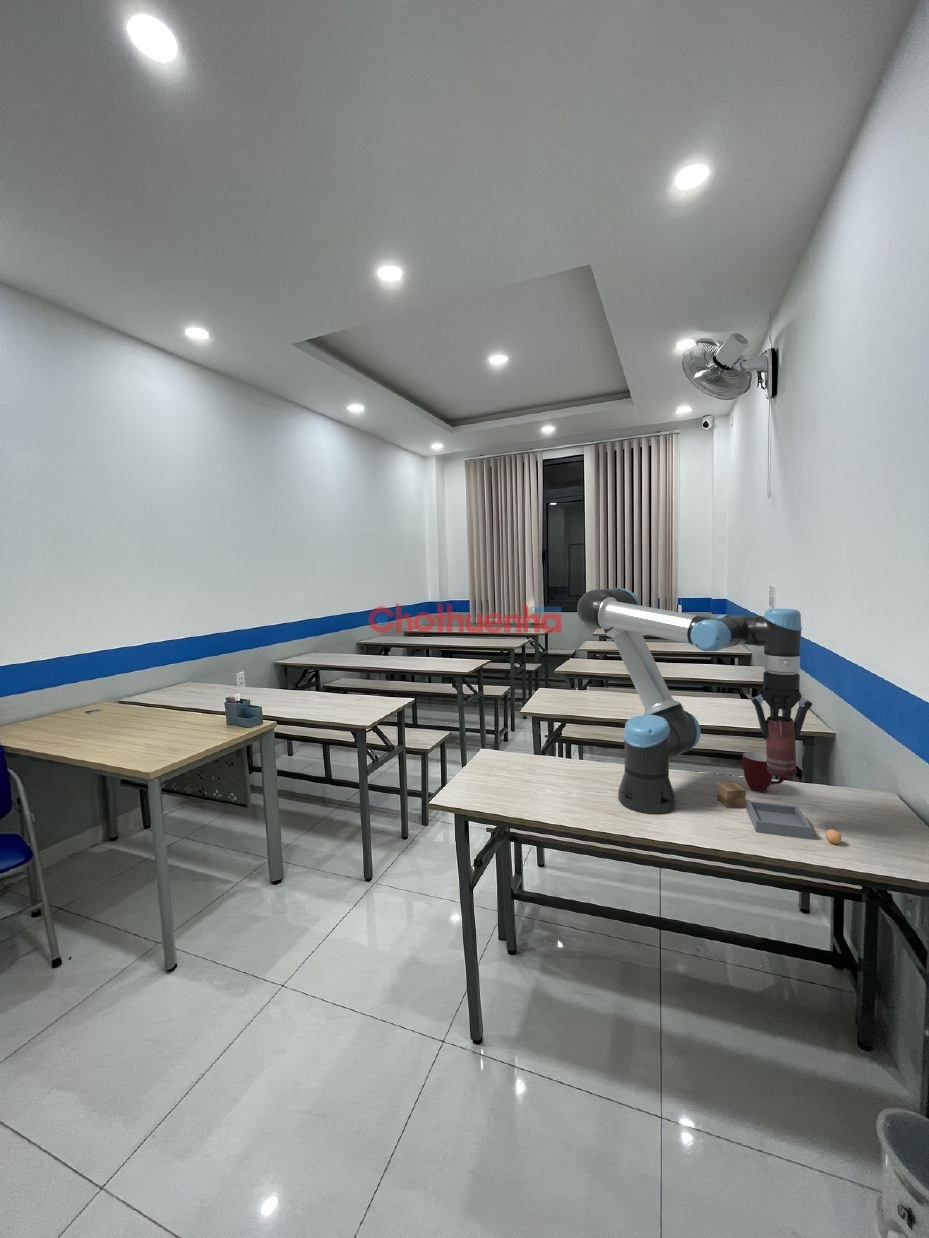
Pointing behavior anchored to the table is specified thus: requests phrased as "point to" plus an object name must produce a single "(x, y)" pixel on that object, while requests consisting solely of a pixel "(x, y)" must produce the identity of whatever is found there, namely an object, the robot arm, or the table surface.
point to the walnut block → (731, 795)
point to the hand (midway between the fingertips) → (778, 764)
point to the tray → (778, 819)
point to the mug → (757, 771)
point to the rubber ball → (833, 836)
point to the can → (781, 748)
